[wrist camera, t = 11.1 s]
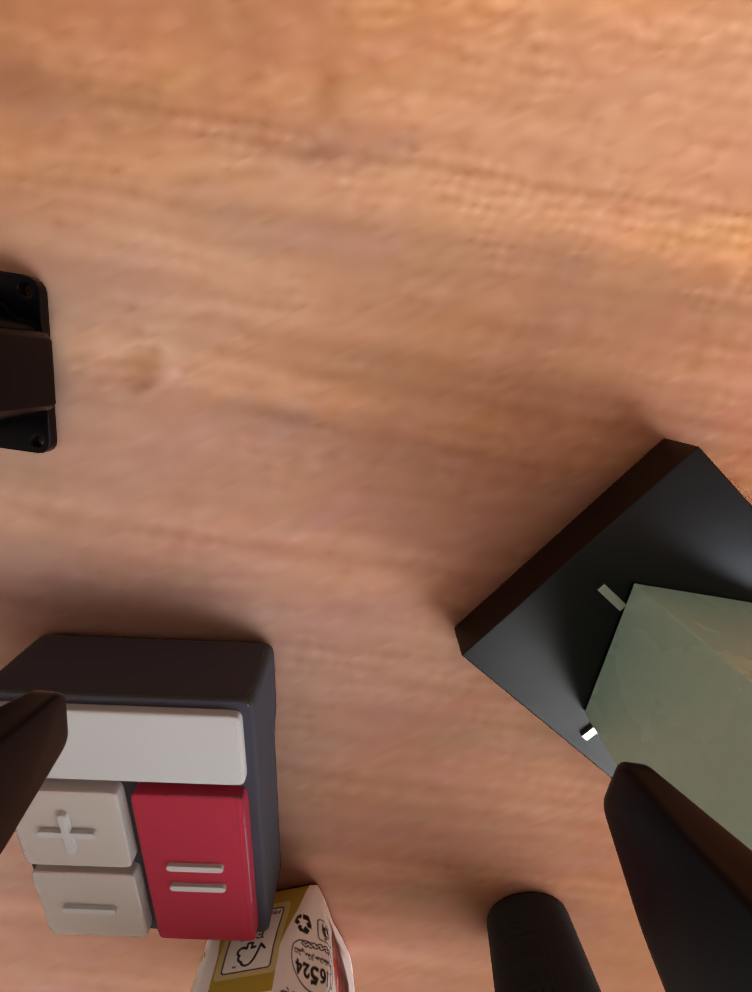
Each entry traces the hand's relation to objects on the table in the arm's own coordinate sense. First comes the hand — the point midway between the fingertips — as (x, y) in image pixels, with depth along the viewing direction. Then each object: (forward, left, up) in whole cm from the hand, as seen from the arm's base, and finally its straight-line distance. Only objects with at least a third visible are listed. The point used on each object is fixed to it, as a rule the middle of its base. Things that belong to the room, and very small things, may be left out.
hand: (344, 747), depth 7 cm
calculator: (-8, -15, -12) cm, 21 cm away
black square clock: (+14, -4, -12) cm, 19 cm away
